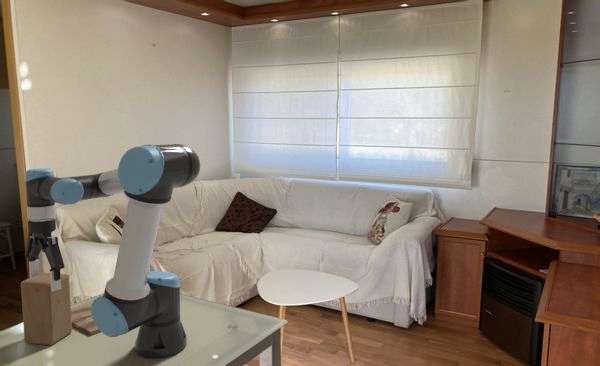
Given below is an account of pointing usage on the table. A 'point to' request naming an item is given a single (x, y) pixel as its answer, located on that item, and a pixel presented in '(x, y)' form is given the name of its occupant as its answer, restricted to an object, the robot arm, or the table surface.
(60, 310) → the wooden block
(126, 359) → the table surface
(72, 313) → the board
